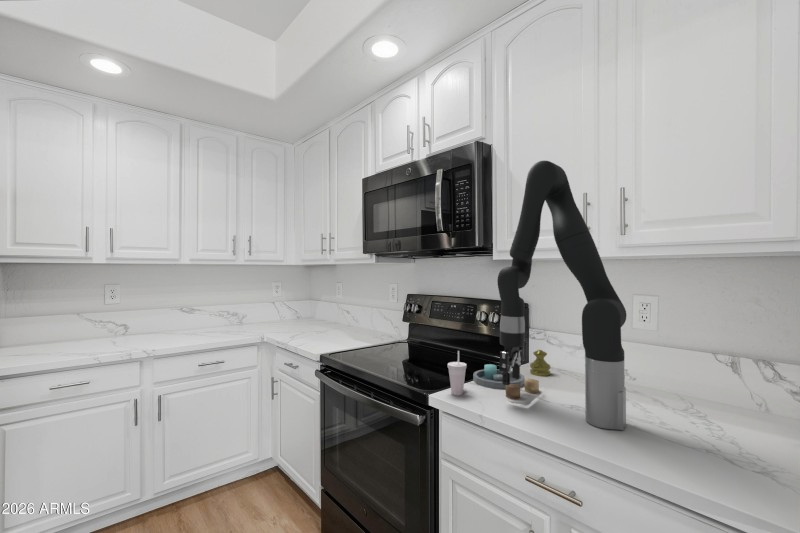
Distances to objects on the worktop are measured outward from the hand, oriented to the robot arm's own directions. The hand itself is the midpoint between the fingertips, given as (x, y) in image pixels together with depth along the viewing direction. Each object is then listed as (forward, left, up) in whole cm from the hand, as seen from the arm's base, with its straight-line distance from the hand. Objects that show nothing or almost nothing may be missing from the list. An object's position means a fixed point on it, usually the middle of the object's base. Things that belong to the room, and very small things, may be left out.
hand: (511, 381), depth 118 cm
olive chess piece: (0, -32, -6) cm, 33 cm away
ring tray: (+9, -13, -6) cm, 17 cm away
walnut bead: (-1, 0, -6) cm, 6 cm away
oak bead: (-4, -9, -6) cm, 11 cm away
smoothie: (+16, +5, -6) cm, 18 cm away
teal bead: (+14, -15, -5) cm, 21 cm away
